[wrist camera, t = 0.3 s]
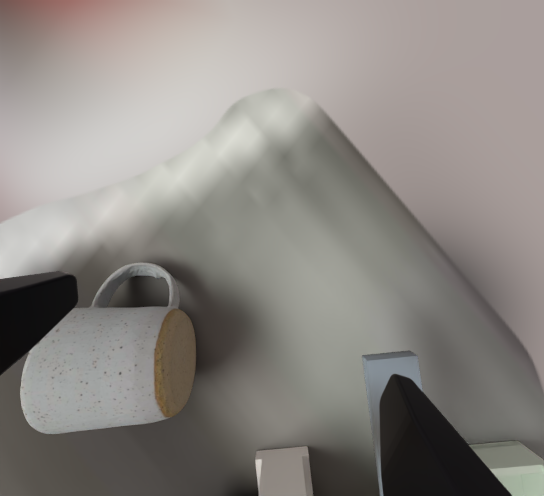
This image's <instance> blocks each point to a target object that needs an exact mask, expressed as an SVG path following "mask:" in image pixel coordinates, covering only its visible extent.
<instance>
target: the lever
mask: <svg viewBox="0 0 544 496" xmlns="http://www.w3.org/2000/svg"><path fill="white" fill-rule="evenodd" d="M362 359H363V366H364V374H365V382H366V390H367V397H368V405H369V413H370V420H371V428H372V436H373V444H374V451H375V459H376V467H377V475H378V482H379V490H380V496H383V489H382V479H381V459H380V415H379V404H380V398H381V395H382V393H383V391H384V389H385V387H386V385H387V383H388V380H389V378H390V376H391V375H392V374H399V375H402V376H405V377H408V378H410V379H412V380H413V381H414V382H415V384H416V385H417V386H418V387H419V388H420V389H421V390H422V384H421V377H420V370H419V363H418V356H417V355H416V354H414V353H413V352H411V351H401V352H391V353H381V354H371V355H362ZM422 392H423V391H422Z"/></svg>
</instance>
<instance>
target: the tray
mask: <svg viewBox="0 0 544 496" xmlns="http://www.w3.org/2000/svg"><path fill="white" fill-rule="evenodd" d="M469 446H470V447H471V448H472V449H473V451H474V452H475V453H476V454H477V455H478V456H479V458H480V459H481V460H482V461H483V462H484V463H485V465H486V466H487V467H488V468H489V469H490V470H491V471H492V473H493V474H494V475H495V476H496V477H497V478H498V480H499V481H500V482H501V483H502V484H503V485H504V487H505V488H506V489H507V490H508V491H509V492H510V493H511V495H512V496H544V460H543V459H542V458H541V457H539V456H538V455H536V454H535V453H534V452H532V451H531V450H530V449H528V448H527V447H526V446H524V445H523V444H521V443H520V442H519V441H506V442H495V443H484V444H473V445H469Z"/></svg>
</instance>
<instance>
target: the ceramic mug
mask: <svg viewBox="0 0 544 496" xmlns="http://www.w3.org/2000/svg"><path fill="white" fill-rule="evenodd" d="M134 276H153V277H155V278H157V279H159V278H162V277H163V278H164V277H165V279H166V281H167V283H168V285H169V294H170V297H169V304H168V306H167V307H160V306H158V307H135V308H107V306H108V304H109V301H110V299H111V297H112V296H113V294H114V292H115V291H116V289H117V288H118V287H119V286H120V285H121V284H122V283H123V282H124V281H126V280H127V279H128V278H130V277H134ZM179 302H180V296H179V289H178V285H177V283H176V281H175V279H174V278H173V277H172V275H171V274H170V273H169V272H168V271H167V270H165V269H164V268H162V267H161V266H159V265H156V264H153V263H132V264H128V265H126V266H123V267H122V268H120V269H118V270H117V271H116V272H114V273H113V274H112V275H111V276H110V277H109V278H108V279H107V280H106V281H105V282H104V283H103V285H102V286H101V287H100V289H99V291H98V292H97V294H96V296H95V298H94V301H93V303H92V305H91V307H89V308H74V309H72V310H71V311H70V312H69V313H68V314H67V315H66V316H65V317H64V318H63V319H62V320H61V321H60V322H59V323H58V324H57V325H56V326H55V327H54V328H53V329H52V330H51V331H50V332H49V333H48V334H47V335H46V336H45V337H44V338H43V339H42V340H41V341H40V342H39V343H38V344H36V345H35V346H34V347H33V348H32V349H31V350H30V353H29V355H28V357H27V360H26V362H25V365H24V369H23V374H22V379H21V388H20V397H21V405H22V409H23V412H24V415H25V418H26V420H27V421H28V423H29V424H30V425H31V426H32V427H33V428H34V429H36V430H37V431H39V432H42V433H46V434H58V433H66V432H73V431H83V430H91V429H100V428H109V427H117V426H126V425H137V424H146V423H152V422H157V421H160V420H163V419H167V418H171V417H173V416H175V415H176V414H177V413H179V412H180V411H181V410H182V408H183V407H184V406H185V404H186V403H187V401H188V399H189V396H190V394H191V390H192V387H193V381H194V376H195V368H196V340H195V332H194V328H193V324H192V322H191V320H190V318H189V317H188V316H187V315H186V314H185V313H184V312H183V311H182V310H180V309H178V307H179Z"/></svg>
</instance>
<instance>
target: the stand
mask: <svg viewBox="0 0 544 496" xmlns="http://www.w3.org/2000/svg"><path fill="white" fill-rule="evenodd" d="M255 461H256V471H257V481H258V491H259V495H258V496H313V489H312V481H311V472H310V463H309V454H308V447H307V446H304V447H293V448H282V449H271V450H261V451H256V459H255Z"/></svg>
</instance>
